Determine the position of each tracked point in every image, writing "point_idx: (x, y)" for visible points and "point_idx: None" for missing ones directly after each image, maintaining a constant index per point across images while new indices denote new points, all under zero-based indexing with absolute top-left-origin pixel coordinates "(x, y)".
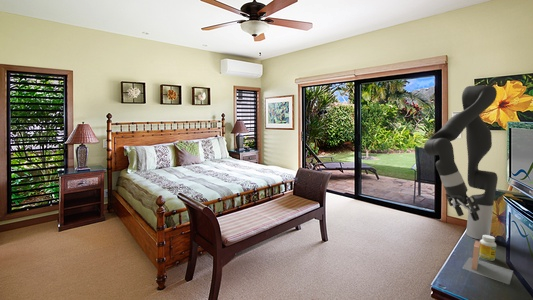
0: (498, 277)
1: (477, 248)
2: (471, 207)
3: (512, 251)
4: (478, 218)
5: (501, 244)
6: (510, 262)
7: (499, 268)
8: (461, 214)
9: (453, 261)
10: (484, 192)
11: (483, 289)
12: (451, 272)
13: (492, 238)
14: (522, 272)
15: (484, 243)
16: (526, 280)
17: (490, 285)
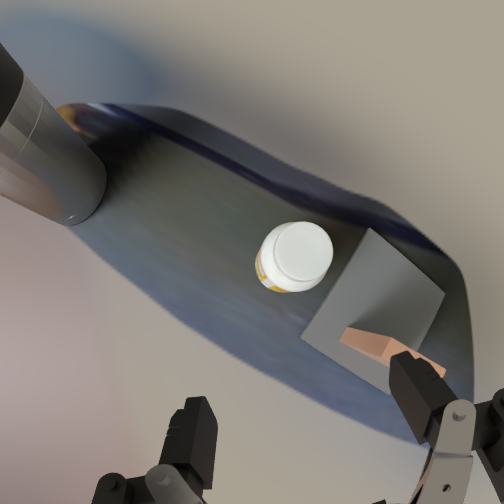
0: (420, 304)
1: (441, 374)
2: (500, 465)
3: (191, 130)
4: (422, 363)
5: (135, 136)
6: (292, 189)
7: (367, 267)
8: (208, 414)
9: (335, 403)
10: None
11: (459, 366)
12: (402, 423)
13: (327, 243)
14: (357, 198)
15: (317, 283)
16: (402, 221)
17: (446, 342)
